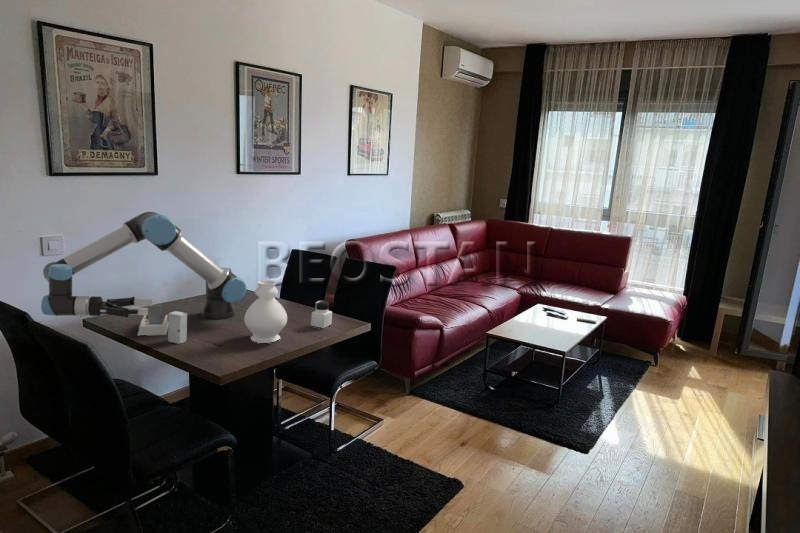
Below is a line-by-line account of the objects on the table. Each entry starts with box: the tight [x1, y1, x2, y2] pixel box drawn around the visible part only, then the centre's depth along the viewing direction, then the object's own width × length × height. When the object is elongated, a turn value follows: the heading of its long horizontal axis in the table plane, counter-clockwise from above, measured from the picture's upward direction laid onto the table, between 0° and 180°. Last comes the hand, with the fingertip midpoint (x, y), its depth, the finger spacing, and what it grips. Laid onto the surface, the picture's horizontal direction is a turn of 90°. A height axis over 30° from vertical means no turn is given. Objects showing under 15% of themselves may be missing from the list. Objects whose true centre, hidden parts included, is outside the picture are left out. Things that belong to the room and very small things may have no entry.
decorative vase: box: [243, 279, 288, 344], centre depth 226 cm, size 18×18×25 cm
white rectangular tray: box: [137, 314, 169, 337], centre depth 230 cm, size 11×16×4 cm
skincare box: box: [167, 310, 188, 345], centre depth 217 cm, size 6×4×12 cm
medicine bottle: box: [310, 300, 333, 329], centre depth 250 cm, size 7×7×12 cm
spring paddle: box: [148, 304, 163, 323], centre depth 234 cm, size 5×1×8 cm, turn 109°
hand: (149, 307), depth 212 cm, fingers open, 13 cm apart
